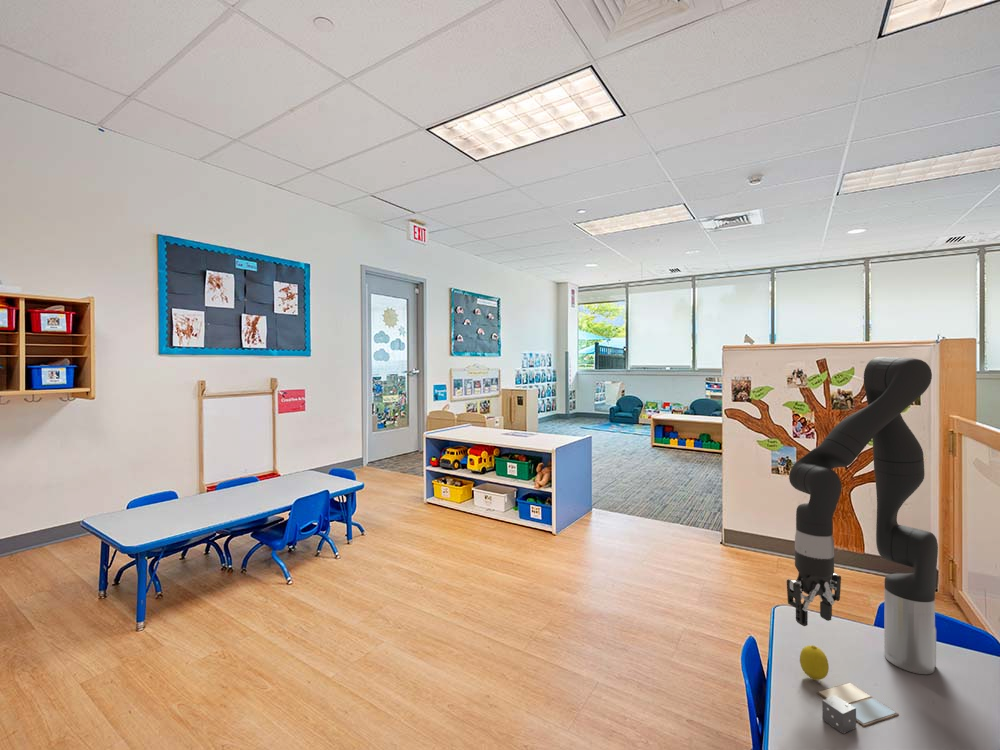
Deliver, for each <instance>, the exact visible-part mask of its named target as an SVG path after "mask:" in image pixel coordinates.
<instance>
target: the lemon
mask: <svg viewBox="0 0 1000 750" xmlns="http://www.w3.org/2000/svg"><path fill="white" fill-rule="evenodd" d="M799 664H800V667H801V669H802V671H803V672H804V674H805V675H806V676H807V677H810V678H811V679H812V680H813V681H817V680H820V681H821V680H823V679H825V678H826V677H827V676H828V674H829V673H828V672H829V669H830V668H829V661H828V658H827V655H826V654H825V652H824V651H823V650H822V649H821V648H819V647H817V646H816V645H814V644H813V645H807V646H803V648H802V649H801V651H800V655H799Z"/></svg>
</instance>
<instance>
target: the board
mask: <svg viewBox="0 0 1000 750" xmlns="http://www.w3.org/2000/svg"><path fill="white" fill-rule="evenodd" d="M816 694H817V695H819V696H820V697H822V698H823V700H824V699H827V698H829V697H832V696H834V695H836V696H838V697H839V698H841V699H842V700H844V701H846V702H847V703H849V704H850V705H852V706H853V707H855V708H856V723H858V724H859V725H861V726H863V727H867V726H871V725H872V724H873V725H874V724H877V723H879V722H882V721H885V720H888V719H892V718H894V717H897V716H899V713H898V712H897V711H895V710H893V709H892V708H890V707H889V706H888V705H885V703H882V702H881V701H880V700H878V699H876V698H875V697H873V696H872V695H870V694H869V693H867V692H866V691H864V690H863V689H861V688H860V687H858V686H856V685H855V684H853V683H852V682H850V681H849V682H846V683H843V684H839V685H836V686H833V687H829V688H826V689H822V690H819V691H817V692H816Z"/></svg>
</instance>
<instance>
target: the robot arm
mask: <svg viewBox="0 0 1000 750" xmlns="http://www.w3.org/2000/svg"><path fill="white" fill-rule="evenodd" d="M932 378H933V375H932V368H931V367H930V365H929V364H928V363H927V362H925V361H924V360H922V359H918V358H913V357H897V356H895V357H893V356H891V357H890V356H877V357H875V358H872V359H870V360H869V362H868V363H866V366H865V368H864V371H863V385H864V387H863V388H864V391H865V398H866V402H867V405H866V406H865V407H863V408H861V409H859V410H858V411H856V412H854V413H852V414H851V415H848V416H847V417H845V418H844V419H842V420H841V421H839V422H838V423H837V424H836V425H835V426H834V427H833V428H832V429H831V430H830V431H829V433H828V434H827V436H826V437H825V438H824V439H823V440H822V441H821V443H820V444H819V445H817V446H816V447H814V448H813V449H811V450H810V451H809V452H808V453H806V454H805V455H803V456H802V457H800V458H799V459H797V461H796V462H795V463H794V464H793V465H792V467H791V468H790V470H789V475H788V480H789V483H790V485H791V486H792V487H793V488H794V489H795V490H797V491H799V492H801V493H805V494H806V495H807V494H808V495H809V501H808V502H807V503H806V502H805V503H801V504H799V505H798V506H797V508H796V512H795V513H796V514H795V517H796V518H795V535H794V567H795V568H796V570H797V572H798V575H797V578H796V579H794V580H792V579H790V578H788V579H786V592H787V595H786V596H787V604H788V605H790V606H791V607H793V608H795V621H796V622H797V623H798V624H799V625H801V626H803V627H807V626H808V617H809V616H808V615H809V614H808V612H809V611H808V608H809V606H810V603H813V602H814V599H815V597H817V596H819V598H820V601H819V615H820V618H822V619H823V620H826V621H829V622H830V621H832V616H833V605H834V604H835V601H837V602H839V601H841V600H840V599H841V585H842V577H841V575H839V574H837V573H835V542H834V535H833V533H834V531H833V529H834V528H833V527H834V520H833V518H834V514H835V512H836V510H837V507H838V504H839V499H840V497H841V494H842V481H841V478H840V476H839V475H838V473H837V472H836V471H835V470H833V469H835V468H846V467H847V468H848V467H849V466H851V464H853V463H854V461H855V460H856V459H857V458H858V457H859V455H860V454H861V453H862V451H864V449H865V448H866V446H867V445H868V444H869V442H871V441H872V457H873V470H874V479H875V489H876V526H875V527H876V528H875V529H876V530H875V532H876V533H875V541H876V542H875V543H876V544H875V545H876V548H877V552H878V554H879V555H880V557H881V558H883V559H884V560H886V561H889V562H893V563H897V564H901V565H904V566H908V567H910V568H914V569H913V570H914V571H913V572H911V573H890V574H887V575H886V576H885V577H884V591H883V592H884V614H883V615H884V620H883V621H884V629H883V630H884V631H883V632H884V633H883V634H884V635H883V636H884V638H883V639H884V641H883V642H884V643H883V644H884V645H883V647H884V648H883V650H884V651H883V652H884V653H883V654H884V658H885V659H886V660H887V661H888V662H890V663H891V664H892V665H894V667H898V668H899V669H902V670H904V671H907V672H910V673H914V674H919V675H931V674H933V673H935V670H936V669H935V667H936V666H937V627H936V616H935V615H936V607H935V606H936V584H937V569H938V568H937V566H938V558H939V557H938V555H939V545H938V540H937V536H935V534H933V533H932V532H931V531H929V530H928V531H927V530H923V529H919V528H915V527H911V526H906V525H903V524H898V520H897V519H898V514H899V510H900V509H901V507H902V506H903V505H904V503H905V502H906V500H908V499H909V498H910V496H912V495H913V494H914V493H915V492H916V491H917V490H918V488H919V487H920V486H921V485H922V483H923V482H924V479H925V461H924V460H925V459H924V457H925V456H924V451H923V448H922V446H921V444H920V442H919V441H918V439H917V437H916V435H915V434H914V433H913V431H912V430H911V429H910V427H909V425H908V424H907V423H906V422H905V419H904V418H903V415H902V413H903V412H904V411H905V410H906V409H907V408H909V406H911V405H912V404H913V403H914V402H916V401H917V400H918V399H919V398H920V397H921V396H922V395H924V393H925V392H927V389H928V388H929V386H930V384H931V382H932ZM833 590H834V593H833ZM804 593H805V594H806V595H805V594H804ZM802 599H804V600H803V603H802Z"/></svg>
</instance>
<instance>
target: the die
mask: <svg viewBox="0 0 1000 750" xmlns="http://www.w3.org/2000/svg"><path fill="white" fill-rule="evenodd" d="M821 702H822V708H821V709H822V721H824V722H826V723H827V724H828V725H830V726H831V727H833V728H834V729H835V730H836V731H838V732H840V733H842V734H845V733H847V732H849V731H852V730H854V729H857V721H856V708H855V707H853V706H852V705H850V704H849V703H847V702H846V701H844V700H842V699H841V698H839V697H838V696H836V695H834V696H832V697H829V698H827V699H824V698H823V699H822V701H821Z"/></svg>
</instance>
